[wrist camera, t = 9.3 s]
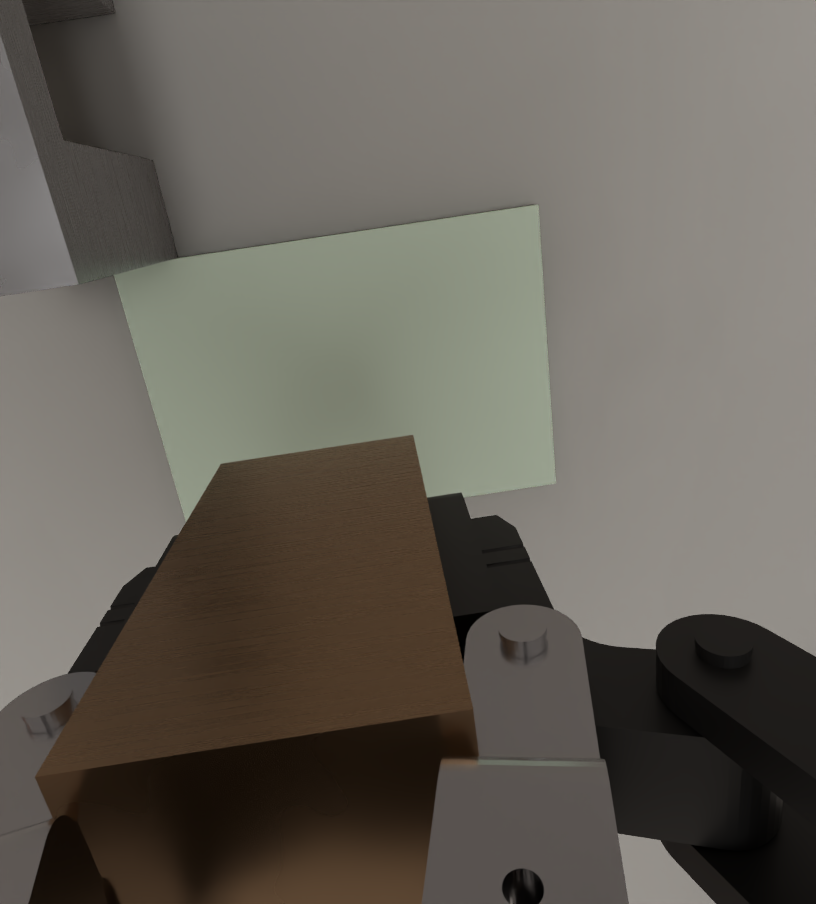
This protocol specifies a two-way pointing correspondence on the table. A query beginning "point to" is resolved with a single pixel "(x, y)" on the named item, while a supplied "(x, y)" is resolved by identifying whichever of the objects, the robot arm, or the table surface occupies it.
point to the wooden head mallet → (276, 695)
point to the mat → (355, 351)
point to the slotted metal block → (65, 176)
